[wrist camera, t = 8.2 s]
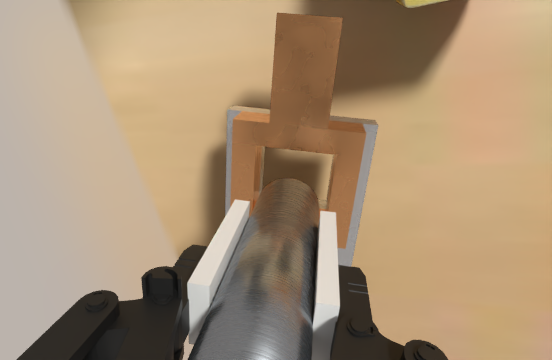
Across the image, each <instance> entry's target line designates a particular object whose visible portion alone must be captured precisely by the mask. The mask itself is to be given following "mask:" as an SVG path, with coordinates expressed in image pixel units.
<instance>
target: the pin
mask: <svg viewBox="0 0 552 360" xmlns="http://www.w3.org/2000/svg"><path fill="white" fill-rule="evenodd" d="M318 223H319V201H318V198H317V196H316V194H315V192H314V191H313V190H312V189H311V188H310V187H309V186H308V185H307V184H305V183H304V182H302V181H299V180H296V179H292V178H281V179H277V180H274V181H272V182H270V183H269V184H267V185H266V186H265V187H264V188H263V189H262V191H261V193H260V195H259V197H258V199H257V202H256V204H255V206H254V208H253V211H252V213H251V215H250V218H249V220H248V222H247V225H246V227H245V229H244V231H243V234H242V236H241V238H240V241H239V243H238V245H237V248H236V250H235V252H234V254H233V257H232V259H231V261H230V264H229V266H228V268H227V271H226V273H225V275H224V277H223V280H222V282H221V284H220V287H219V289H218V291H217V293H216V296H215V298H214V300H213V303H212V305H211V307H210V310H209V312H208V314H207V316H206V319H205V321H204V323H203V326H202V328H201V330H200V333H199V335H198V337H197V339H196V342H195V344H194V346H193V349H192V351H191V353H190V356H189V358H188V360H311V359H312V340H313V309H314V291H315V272H316V254H317V235H318Z"/></svg>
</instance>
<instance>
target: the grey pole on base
mask: <svg viewBox="0 0 552 360" xmlns="http://www.w3.org/2000/svg"><path fill="white" fill-rule="evenodd" d="M342 21H343V18H339V17H326V16H313V15H300V14H287V13H277V19H276V34H275V48H274V63H273V77H272V92H271V106H270V109H262V108H253V107H243V106H232V107H230V108H229V109H227V155H226V201H225V216H226V215H227V213H228V211H229V209H230V208H231V206H232V204H233V202H234V201H235V199H236V200H243V201H250V209H249V218H250V215H251V213H252V211H253V208H254V206H255V204H256V202H257V199H258V197H259V195H260V193H261V191H262V186H263V171H264V155H265V147H273V148H281V149H290V150H299V151H308V152H316V153H325V154H333V159H332V166H331V173H330V180H329V186H328V193H327V200H318V201H319V217H320V211H328V212H336V227H337V250H338V265H343V266H350V267H351V265H352V259H353V254H354V249H355V244H356V239H357V233H358V228H359V223H360V218H361V213H362V207H363V202H364V197H365V192H366V186H367V181H368V176H369V171H370V166H371V160H372V155H373V150H374V145H375V140H376V134H377V129H378V124H377V122H376V120H369V119H359V118H349V117H340V116H330V109H331V102H332V95H333V87H334V80H335V73H336V65H337V58H338V50H339V43H340V36H341V28H342ZM318 224H319V223H318Z"/></svg>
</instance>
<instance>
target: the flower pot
mask: <svg viewBox="0 0 552 360" xmlns="http://www.w3.org/2000/svg"><path fill="white" fill-rule="evenodd" d="M444 1H449V0H396V2H398V3H399V4H401V5H403V6H405V7H406V8H416V7H420V6H425V5H429V4H434V3H439V2H444Z"/></svg>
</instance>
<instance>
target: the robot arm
mask: <svg viewBox="0 0 552 360" xmlns="http://www.w3.org/2000/svg"><path fill="white" fill-rule="evenodd" d="M249 209H250V201H243V200H236V199H235V201H234V202H233V204H232V206H231V208H230V209H229V211H228V213H227V215H226V216H225V218H224V220H223V222H222V223H221V225H220V227H219V228H218V230H217V232H216V234H215V235H214V237H213V239H212V241H211V242H210V244H209V246H208V247H206V246H199V245H192V246H190V247H189V248H187V249H186V250H184V251H183V253H182V254H181V256H180V257H179V260H177V262H176V263H175V266H173V267H167V266H165V267H157V268H154V269H151V270H149V271H148V272H146V273H145V274H144V275H143V276H142V290H143V298H142V299H138V300H129V301H118V296H117V295H116V294H115V293H114V292H111V291H106V290H101V291H95V292H92V293H90V294H87V295H85V296H84V297H82V298H81V299H80V300H78V301H77V302H76V303H75V304H74V305H73V306H72V307H71V308H70V309H69V310H68V311H67V312H66V313H65V314H64V315H63V316H62V317H61V318H60V319H59V320H57V321H56V322H55V323H54V324H53V325H52V326H51V327H50V328H49V329H48V330H47V331H46V332H45V333H44V334H43V335H42V336H41V337H40V338H39V339H38V340H37V341H35V342H34V343H33V344H32V345H31V346H30V347H29V348H28V349H27V350H26V351H25V352H24V353H23V354H22V355H21V356H20V357H19V358H18V359H17V360H182V359H183V355H184V342H185V339H186V337H187V335H188V333H189V344H195V342H196V339H197V337H198V335H199V333H200V330H201V328H202V326H203V323H204V321H205V319H206V316H207V314H208V312H209V310H210V307H211V305H212V303H213V300H214V298H215V296H216V293H217V291H218V289H219V287H220V284H221V282H222V280H223V277H224V275H225V273H226V271H227V268H228V266H229V264H230V261H231V259H232V257H233V254H234V252H235V250H236V248H237V245H238V243H239V241H240V238H241V236H242V234H243V231H244V229H245V227H246V225H247V222H248V220H249ZM311 360H448V359H447V357H446V356H445V354H444V353H443V352H442V351H441V350H440V349H439V348H438V347H437V346H435V345H433V344H431V343H429V342H426V341H422V340H411V341H409V342H407V343H406V345H405V346H403V345H400V344H398V343H395V342H393V341H391V340H389V339H387V338H386V337H384V336H383V335H382V334H380V333H379V332H378V328H377V327H376V325H375V324H374V323H373V321H372V315H371V308H370V302H369V295H368V289H367V283H366V276H365V275H364V274H363V272H362V271H361V270H360V268H357V267H350V266H343V265H338V250H337V227H336V212H328V211H320V217H319V224H318V235H317V254H316V272H315V291H314V309H313V340H312V359H311Z"/></svg>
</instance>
